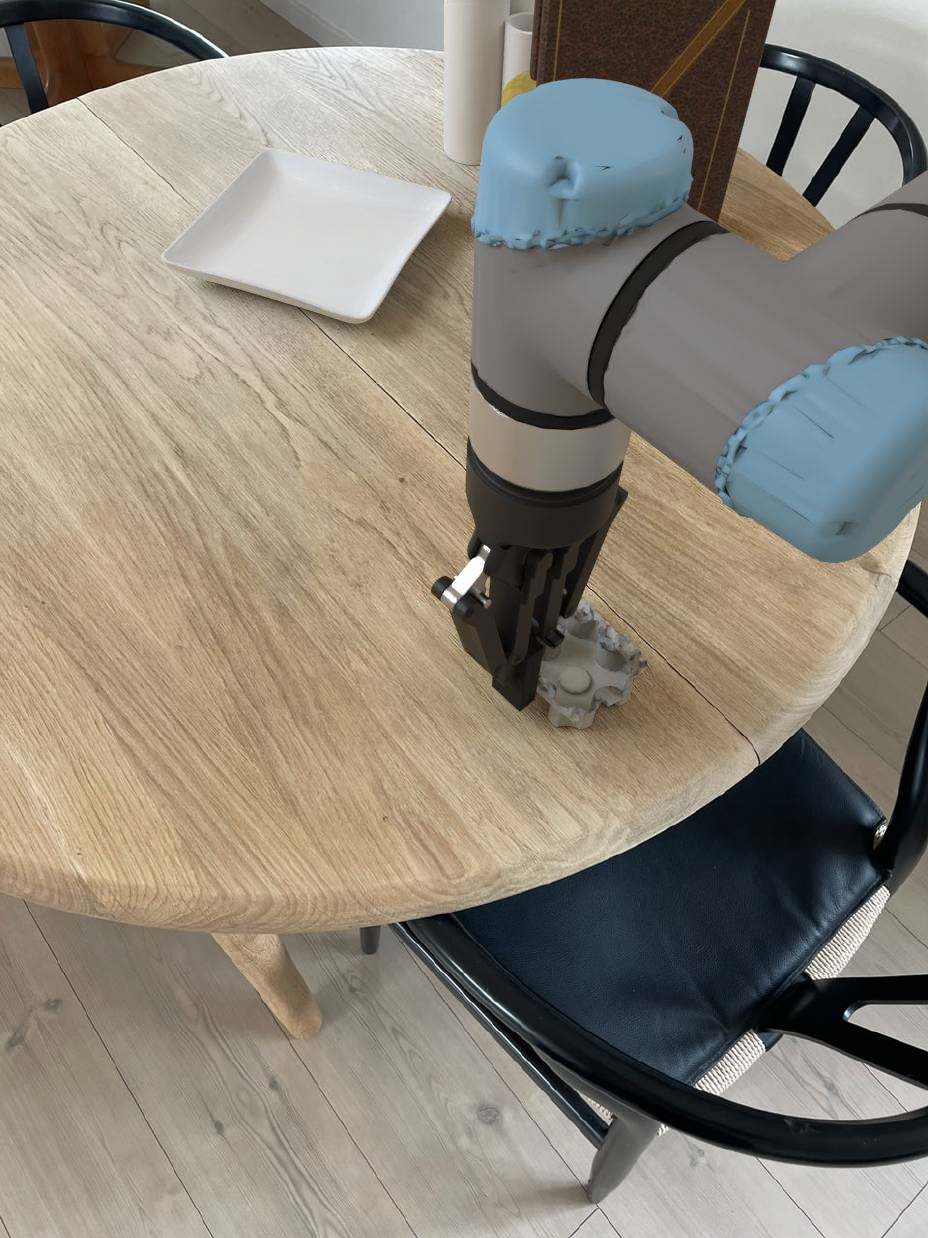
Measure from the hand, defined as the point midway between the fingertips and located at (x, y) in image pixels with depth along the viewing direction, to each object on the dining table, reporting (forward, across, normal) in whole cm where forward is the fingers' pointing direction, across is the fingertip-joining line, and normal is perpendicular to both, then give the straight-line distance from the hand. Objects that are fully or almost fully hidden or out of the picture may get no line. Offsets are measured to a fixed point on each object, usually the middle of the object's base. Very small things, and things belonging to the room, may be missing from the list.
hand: (513, 692), depth 65 cm
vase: (+2, -47, -51) cm, 69 cm away
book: (+2, -45, -33) cm, 56 cm away
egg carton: (+2, -5, 0) cm, 5 cm away
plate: (+2, -21, -49) cm, 53 cm away
